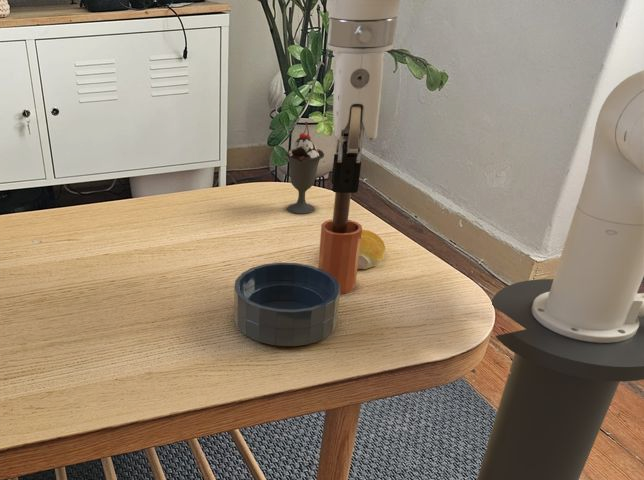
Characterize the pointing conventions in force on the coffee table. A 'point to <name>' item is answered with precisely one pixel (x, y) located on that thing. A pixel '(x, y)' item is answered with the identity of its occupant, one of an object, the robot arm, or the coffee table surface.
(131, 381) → the coffee table surface
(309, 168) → the sundae
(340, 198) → the stirring stick
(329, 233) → the crock
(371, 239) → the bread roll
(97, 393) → the coffee table surface
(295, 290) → the bowl
